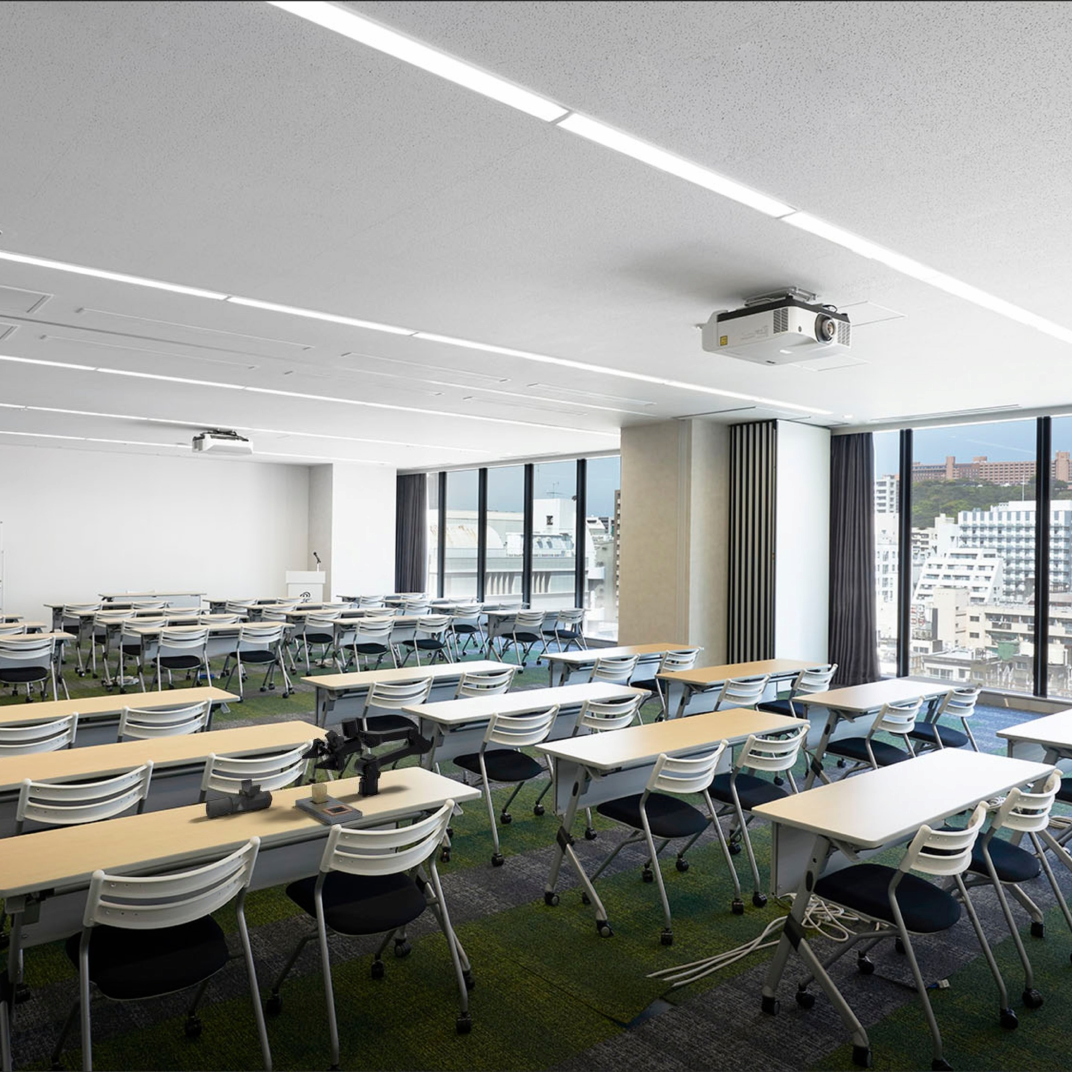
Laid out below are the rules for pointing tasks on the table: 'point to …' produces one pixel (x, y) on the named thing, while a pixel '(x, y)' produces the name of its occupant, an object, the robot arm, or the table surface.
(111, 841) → the table surface
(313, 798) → the brass peg
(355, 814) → the socket plate
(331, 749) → the robot arm
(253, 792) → the laser sight
